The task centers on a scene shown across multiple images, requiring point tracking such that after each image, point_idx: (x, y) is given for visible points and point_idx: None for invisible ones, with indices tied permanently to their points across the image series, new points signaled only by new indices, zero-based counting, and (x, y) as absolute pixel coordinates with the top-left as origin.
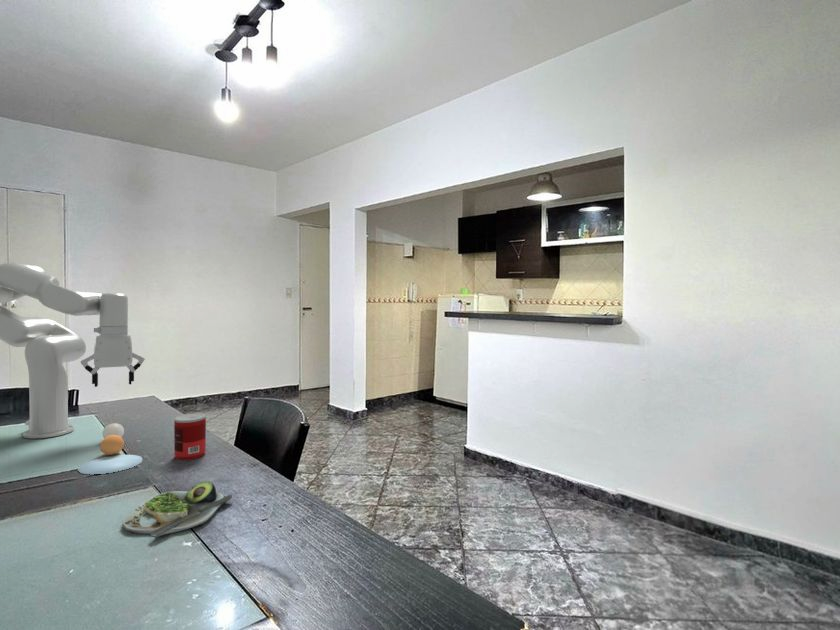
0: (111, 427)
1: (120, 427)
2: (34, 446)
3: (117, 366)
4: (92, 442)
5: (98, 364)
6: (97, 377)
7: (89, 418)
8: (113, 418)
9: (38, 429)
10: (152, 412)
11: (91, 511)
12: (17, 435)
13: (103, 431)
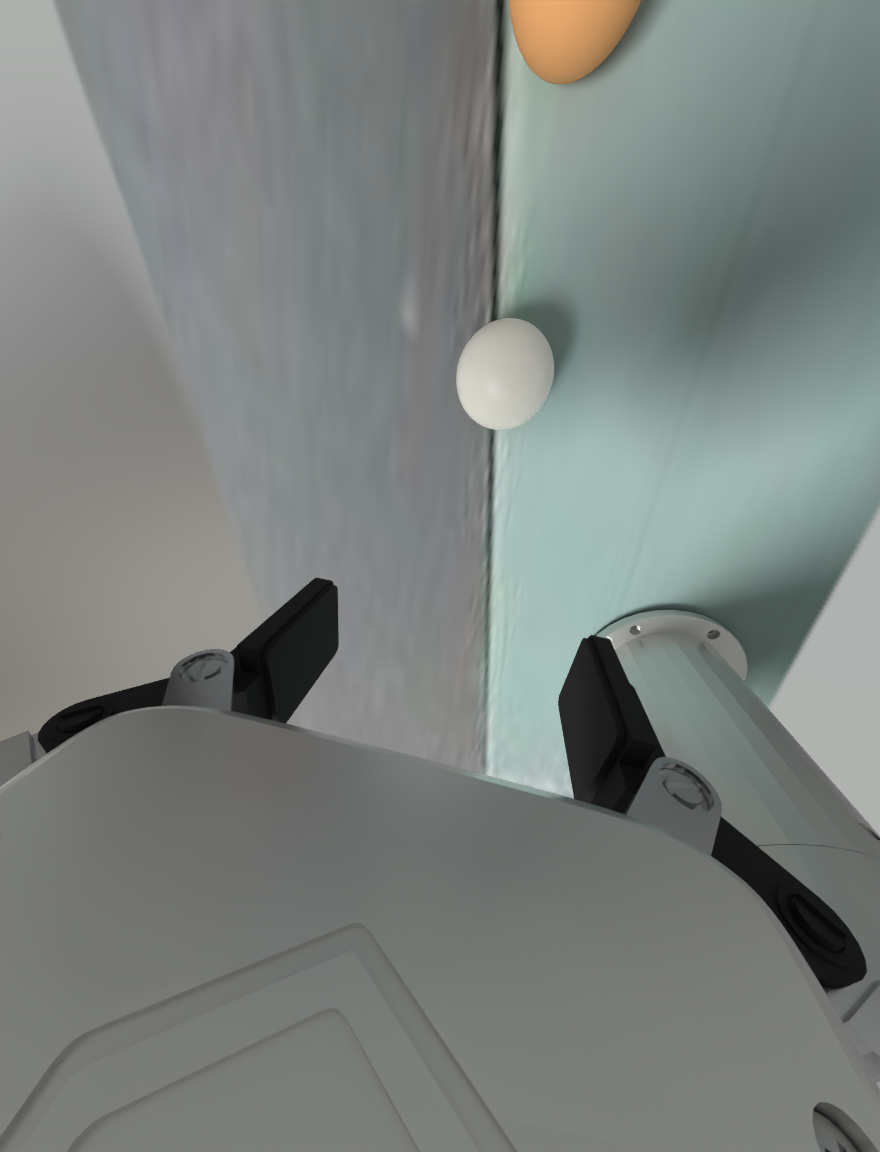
0: (519, 334)
1: (473, 343)
2: (768, 518)
3: (342, 741)
4: (577, 424)
5: (722, 913)
6: (602, 711)
7: (506, 754)
8: (447, 713)
9: (721, 656)
10: (340, 707)
11: None
12: None
13: (552, 361)
